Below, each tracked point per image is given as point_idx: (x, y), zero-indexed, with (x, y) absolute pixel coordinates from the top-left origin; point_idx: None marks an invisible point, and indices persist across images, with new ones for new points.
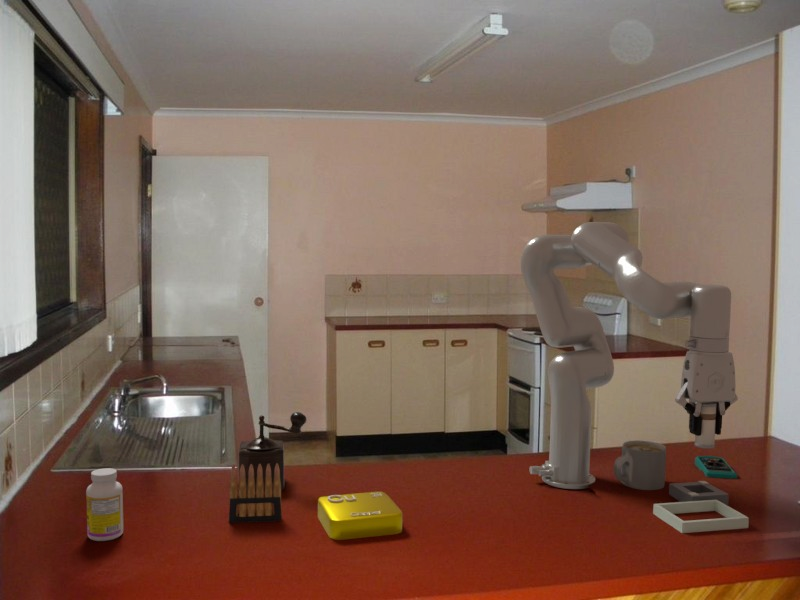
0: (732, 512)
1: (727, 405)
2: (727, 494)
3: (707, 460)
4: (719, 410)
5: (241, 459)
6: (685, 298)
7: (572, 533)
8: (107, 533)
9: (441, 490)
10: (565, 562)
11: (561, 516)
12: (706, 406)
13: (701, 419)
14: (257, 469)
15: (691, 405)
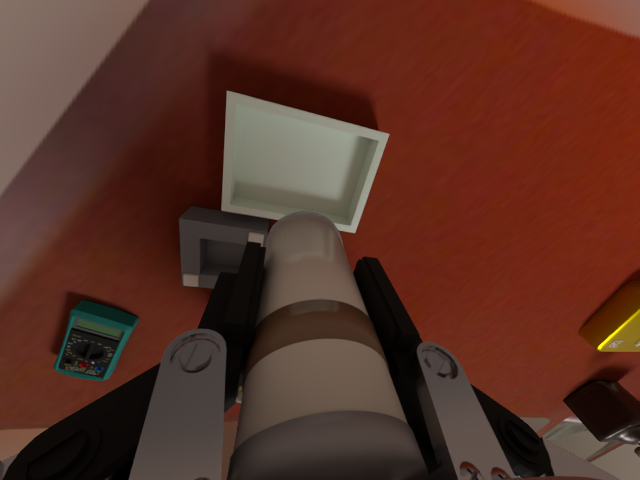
0: (234, 144)
1: (81, 439)
2: (182, 219)
3: (93, 366)
4: (224, 377)
5: None
6: None
7: (499, 215)
8: None
9: (489, 358)
10: (611, 129)
11: (455, 268)
12: (400, 424)
13: (392, 319)
14: (632, 403)
15: (505, 447)
